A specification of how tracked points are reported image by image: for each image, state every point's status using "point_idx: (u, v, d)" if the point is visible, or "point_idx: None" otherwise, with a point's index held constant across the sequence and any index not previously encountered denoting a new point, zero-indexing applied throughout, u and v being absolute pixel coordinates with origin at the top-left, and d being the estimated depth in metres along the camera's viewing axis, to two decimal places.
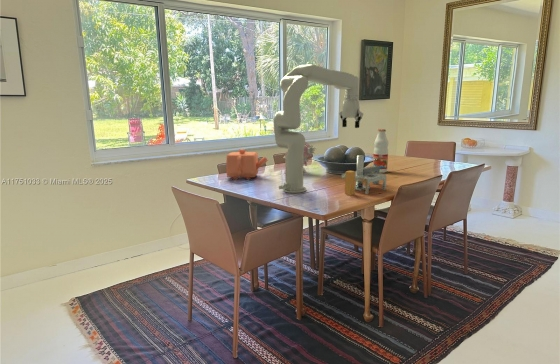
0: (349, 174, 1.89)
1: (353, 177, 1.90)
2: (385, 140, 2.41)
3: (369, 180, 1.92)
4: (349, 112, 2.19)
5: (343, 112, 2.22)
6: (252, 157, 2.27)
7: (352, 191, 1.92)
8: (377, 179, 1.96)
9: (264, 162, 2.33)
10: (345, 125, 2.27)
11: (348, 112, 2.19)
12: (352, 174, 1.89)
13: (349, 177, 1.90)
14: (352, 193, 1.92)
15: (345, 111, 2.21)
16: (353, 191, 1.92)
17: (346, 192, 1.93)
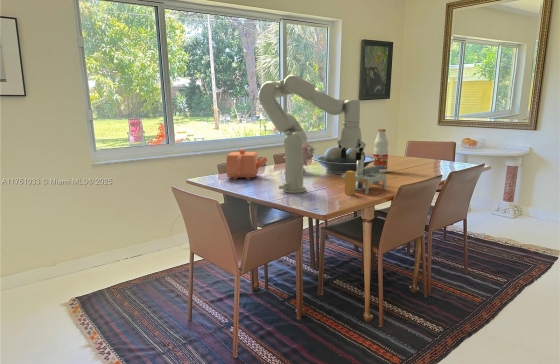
0: (349, 174, 1.89)
1: (353, 177, 1.90)
2: (385, 140, 2.41)
3: (369, 180, 1.92)
4: (349, 142, 1.85)
5: (342, 141, 1.89)
6: (252, 157, 2.27)
7: (352, 191, 1.92)
8: (377, 179, 1.96)
9: (264, 162, 2.33)
10: (344, 156, 1.93)
11: (348, 142, 1.86)
12: (352, 174, 1.89)
13: (349, 177, 1.90)
14: (352, 193, 1.92)
15: (344, 140, 1.87)
16: (353, 191, 1.92)
17: (346, 192, 1.93)
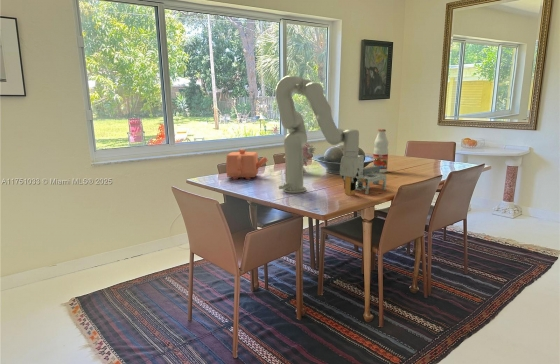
0: None
1: None
2: (385, 140, 2.41)
3: (369, 180, 1.92)
4: (348, 171, 1.88)
5: (341, 170, 1.92)
6: (252, 157, 2.27)
7: (352, 191, 1.92)
8: (377, 179, 1.96)
9: (264, 162, 2.33)
10: None
11: (347, 170, 1.89)
12: None
13: (349, 177, 1.90)
14: (352, 193, 1.92)
15: (343, 169, 1.90)
16: (353, 191, 1.92)
17: (346, 192, 1.93)
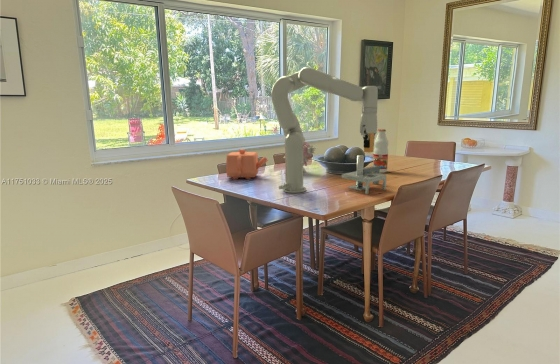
0: None
1: None
2: (385, 140, 2.41)
3: (369, 180, 1.92)
4: None
5: None
6: (252, 157, 2.27)
7: (367, 149, 1.92)
8: (377, 179, 1.96)
9: (264, 162, 2.33)
10: None
11: None
12: None
13: None
14: (366, 151, 1.93)
15: None
16: (368, 149, 1.92)
17: None
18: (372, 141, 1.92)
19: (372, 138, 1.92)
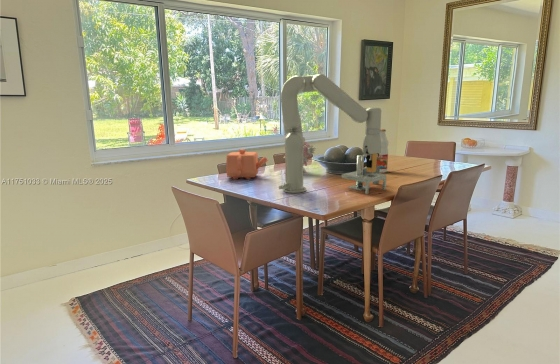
0: None
1: None
2: (385, 140, 2.41)
3: (369, 180, 1.92)
4: None
5: None
6: (252, 157, 2.27)
7: (369, 168, 1.96)
8: (377, 179, 1.96)
9: (264, 162, 2.33)
10: None
11: None
12: None
13: None
14: (369, 170, 1.97)
15: None
16: (370, 169, 1.96)
17: None
18: (375, 161, 1.96)
19: (375, 158, 1.95)
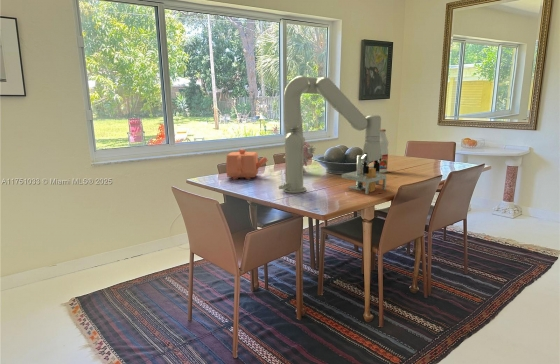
0: None
1: (369, 174, 1.96)
2: (385, 140, 2.41)
3: (369, 180, 1.92)
4: None
5: None
6: (252, 157, 2.27)
7: None
8: (377, 179, 1.96)
9: (264, 162, 2.33)
10: (376, 169, 2.00)
11: None
12: None
13: None
14: None
15: None
16: (369, 188, 1.98)
17: None
18: None
19: None
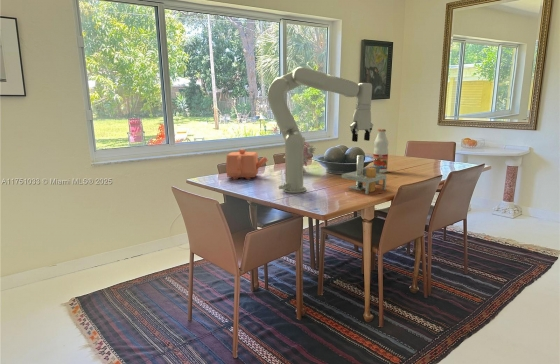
0: None
1: (370, 174, 1.97)
2: (385, 140, 2.41)
3: (369, 180, 1.92)
4: None
5: None
6: (252, 157, 2.27)
7: None
8: (377, 179, 1.96)
9: (264, 162, 2.33)
10: (367, 138, 1.99)
11: None
12: (368, 171, 1.97)
13: None
14: None
15: None
16: (370, 188, 1.98)
17: None
18: None
19: None
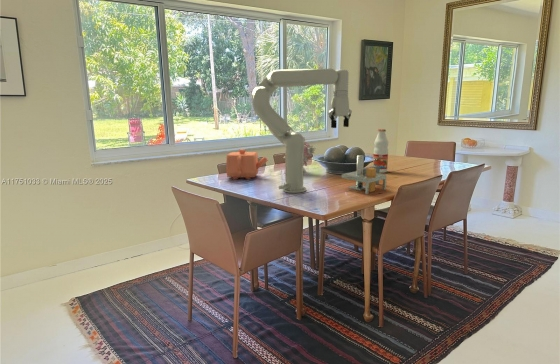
0: None
1: (370, 174, 1.97)
2: (385, 140, 2.41)
3: (369, 180, 1.92)
4: None
5: None
6: (252, 157, 2.27)
7: None
8: (377, 179, 1.96)
9: (264, 162, 2.33)
10: (346, 125, 2.02)
11: None
12: (368, 171, 1.97)
13: None
14: None
15: None
16: (370, 188, 1.98)
17: None
18: None
19: None
